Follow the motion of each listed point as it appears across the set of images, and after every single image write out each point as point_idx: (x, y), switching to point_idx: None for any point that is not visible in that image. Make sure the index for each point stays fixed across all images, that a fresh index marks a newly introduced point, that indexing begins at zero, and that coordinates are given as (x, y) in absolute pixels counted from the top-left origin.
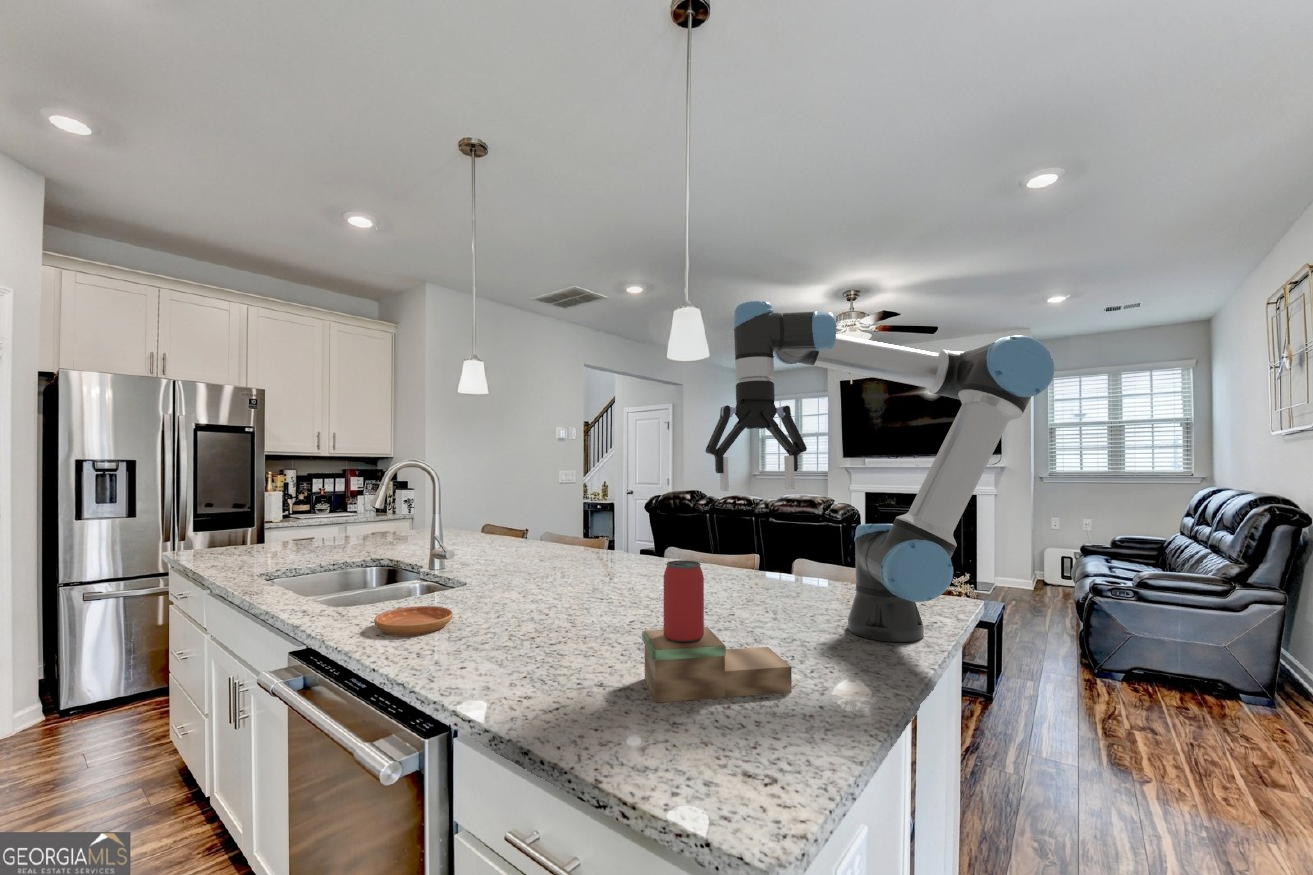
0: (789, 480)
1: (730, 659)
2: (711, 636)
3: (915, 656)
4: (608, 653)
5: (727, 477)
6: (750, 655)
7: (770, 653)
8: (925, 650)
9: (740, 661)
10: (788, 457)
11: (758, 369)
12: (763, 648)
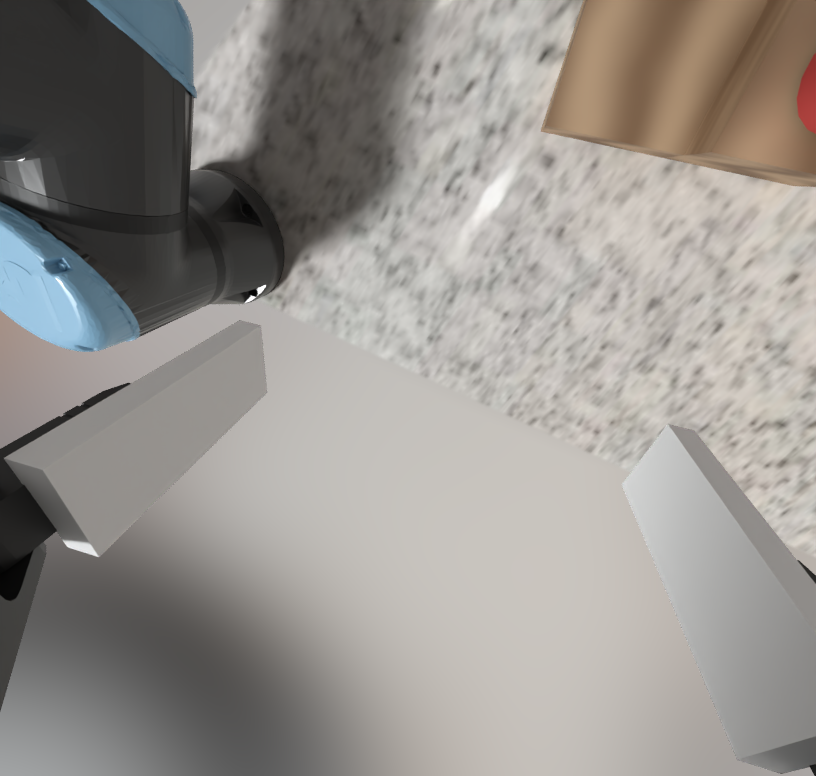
0: (231, 364)
1: (692, 64)
2: (785, 48)
3: (242, 91)
4: (734, 343)
5: (721, 494)
6: (628, 75)
7: (575, 73)
8: (209, 116)
9: (685, 35)
10: (80, 483)
11: None
12: (563, 118)
